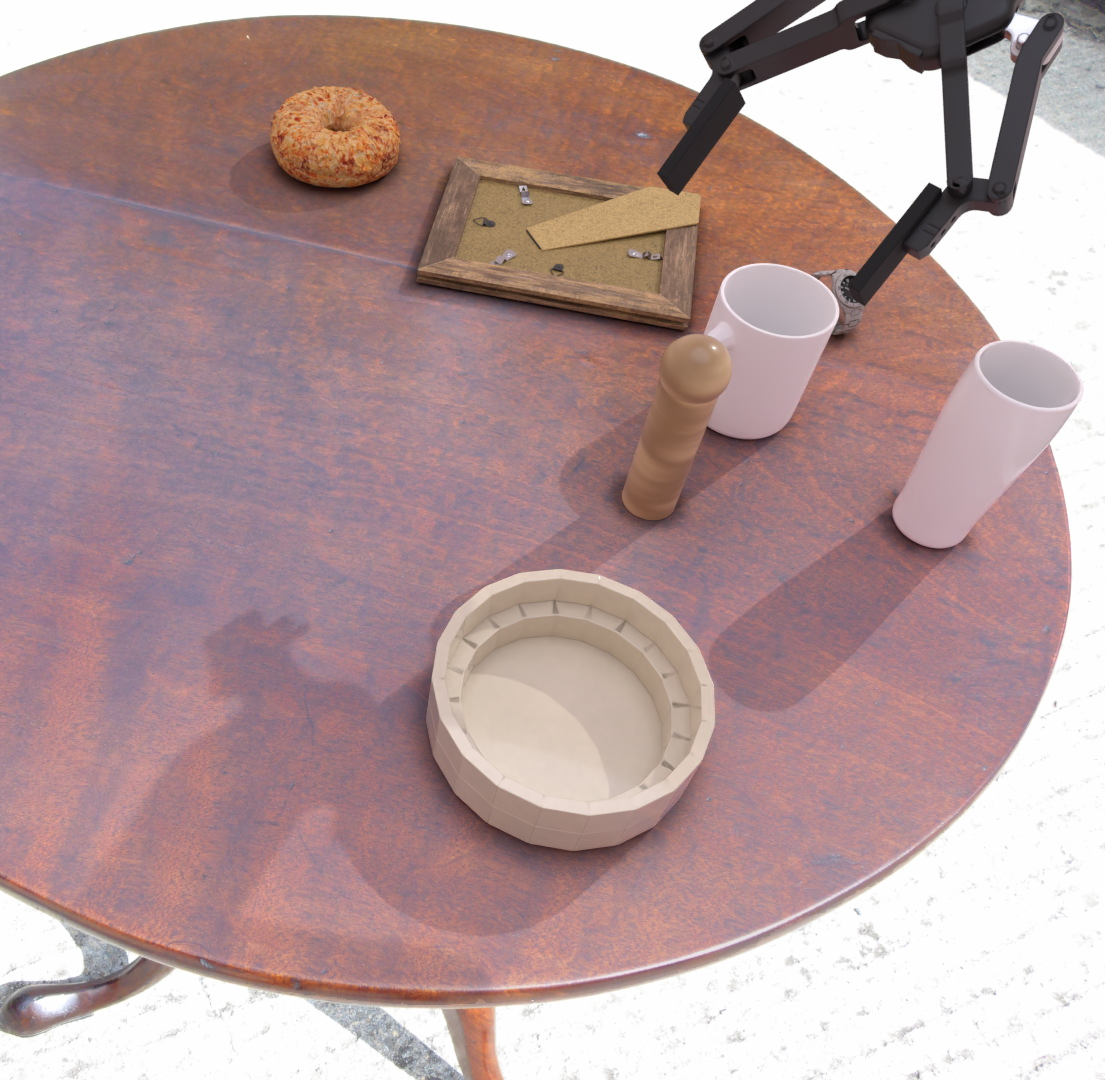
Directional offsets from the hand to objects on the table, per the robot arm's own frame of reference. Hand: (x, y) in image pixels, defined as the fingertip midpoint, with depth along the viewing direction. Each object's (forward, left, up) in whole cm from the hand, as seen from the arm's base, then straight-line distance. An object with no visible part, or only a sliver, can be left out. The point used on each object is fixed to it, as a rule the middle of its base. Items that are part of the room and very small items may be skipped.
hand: (756, 238), depth 63 cm
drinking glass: (-18, -7, -23) cm, 30 cm away
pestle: (+1, +1, -23) cm, 23 cm away
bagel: (+43, -27, -23) cm, 55 cm away
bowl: (0, +22, -23) cm, 32 cm away
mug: (-1, -11, -23) cm, 25 cm away
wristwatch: (-6, -27, -23) cm, 36 cm away
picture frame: (+18, -25, -23) cm, 38 cm away
